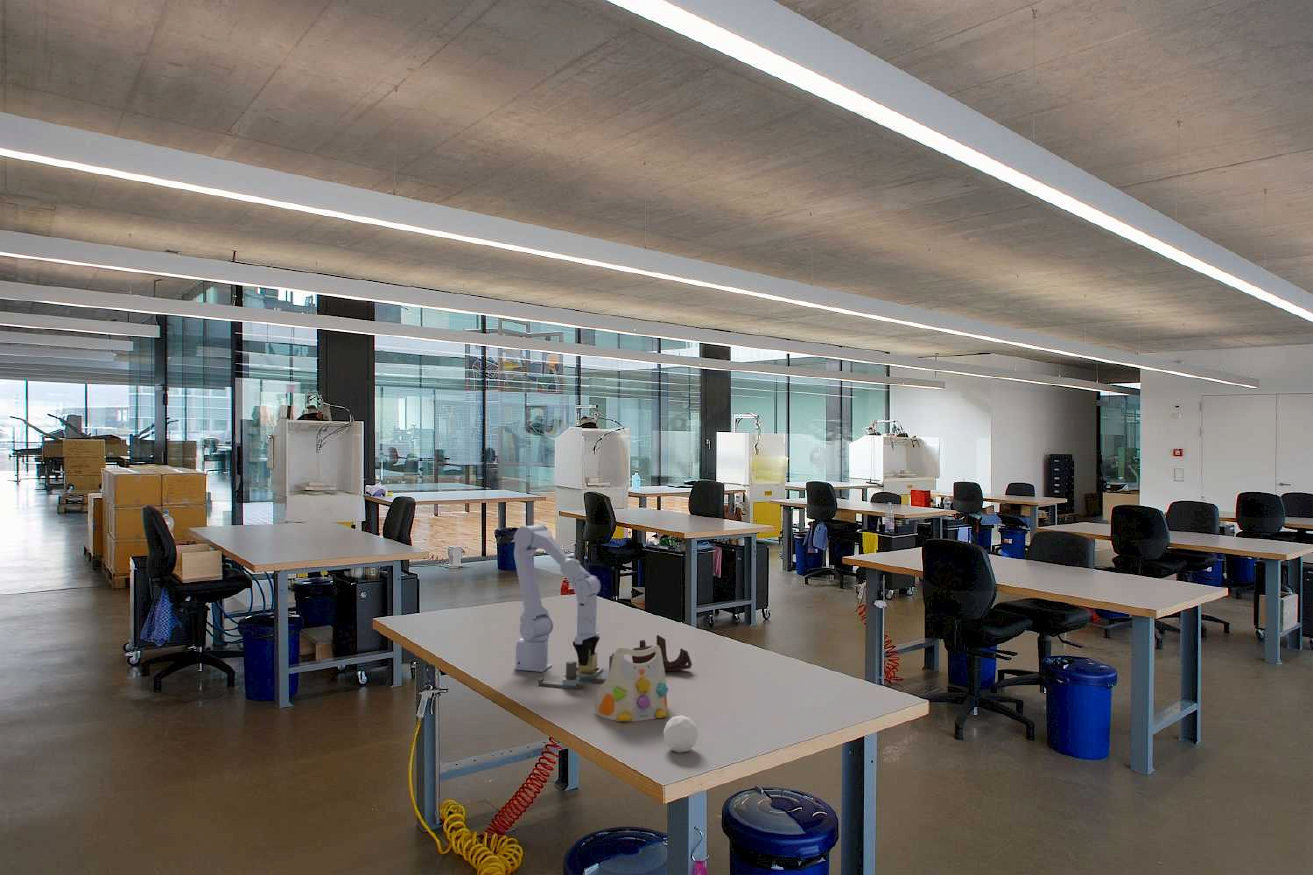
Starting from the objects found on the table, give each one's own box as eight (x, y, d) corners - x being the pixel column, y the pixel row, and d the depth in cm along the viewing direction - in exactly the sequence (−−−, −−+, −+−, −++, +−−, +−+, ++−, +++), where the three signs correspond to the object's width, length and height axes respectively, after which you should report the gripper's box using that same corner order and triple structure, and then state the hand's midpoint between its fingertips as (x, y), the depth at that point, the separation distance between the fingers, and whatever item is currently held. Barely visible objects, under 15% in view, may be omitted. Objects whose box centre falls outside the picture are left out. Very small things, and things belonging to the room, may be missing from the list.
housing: (577, 673, 234) (578, 650, 234) (582, 669, 238) (583, 647, 238) (591, 674, 233) (592, 652, 233) (596, 670, 237) (597, 648, 237)
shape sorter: (607, 726, 194) (608, 653, 194) (594, 713, 203) (595, 644, 204) (680, 717, 201) (681, 647, 202) (664, 704, 211) (665, 638, 211)
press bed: (564, 679, 232) (564, 656, 233) (576, 670, 242) (576, 648, 242) (609, 683, 229) (610, 660, 229) (620, 674, 239) (620, 652, 239)
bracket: (688, 666, 239) (685, 631, 243) (632, 673, 243) (630, 638, 248) (694, 669, 244) (691, 634, 249) (639, 676, 249) (637, 642, 253)
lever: (562, 684, 224) (562, 663, 224) (566, 681, 227) (566, 660, 227) (575, 685, 223) (576, 664, 223) (579, 682, 226) (580, 661, 226)
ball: (683, 766, 176) (679, 745, 172) (658, 744, 181) (654, 723, 177) (706, 743, 180) (703, 722, 176) (681, 722, 185) (678, 702, 181)
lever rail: (538, 685, 226) (538, 679, 226) (541, 683, 229) (541, 677, 229) (581, 689, 223) (581, 683, 223) (584, 687, 225) (584, 681, 225)
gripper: (591, 623, 228) (590, 670, 228) (607, 613, 242) (606, 658, 242) (568, 621, 230) (567, 668, 229) (585, 612, 244) (584, 656, 243)
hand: (585, 663), depth 236 cm, fingers closed on housing, 4 cm apart
